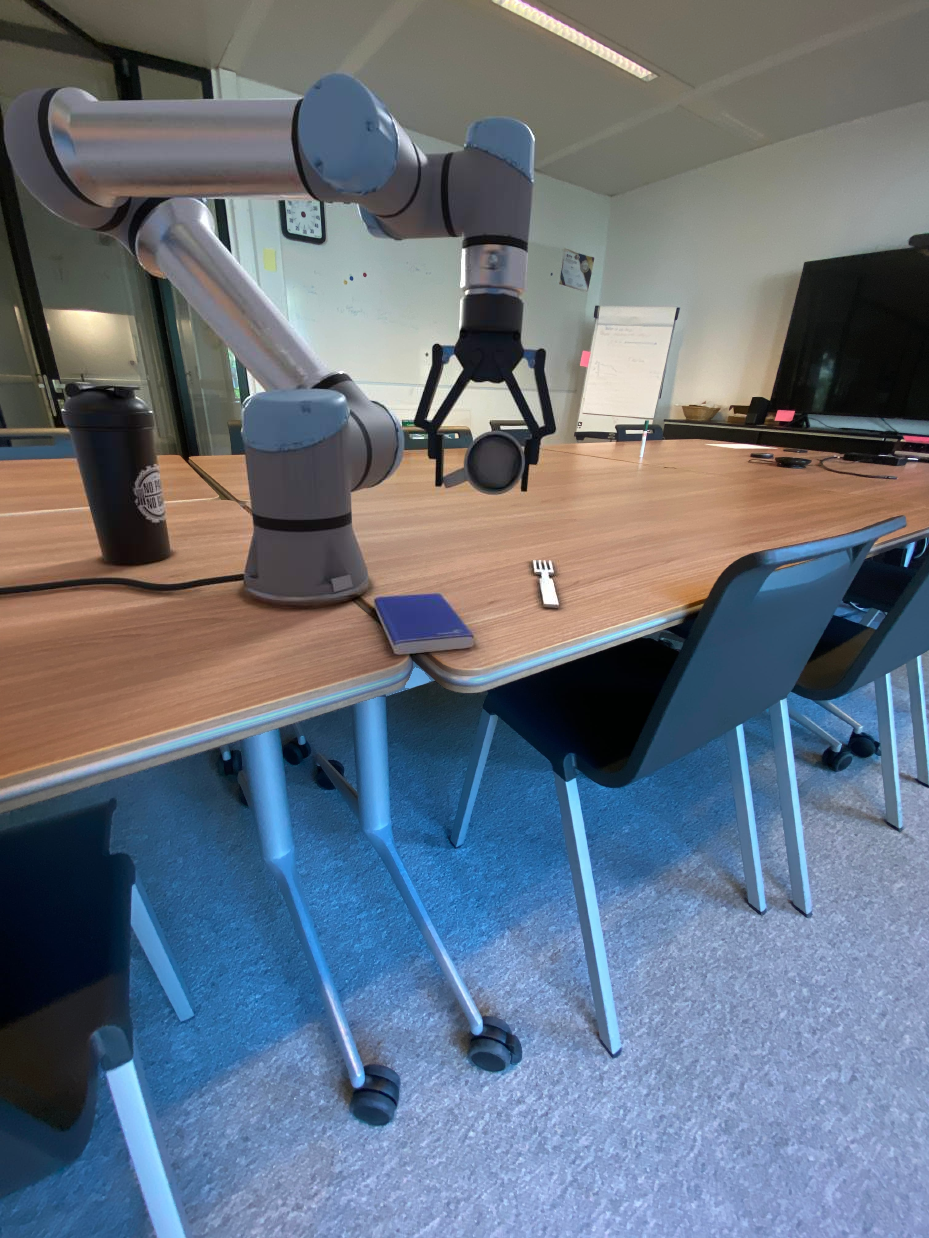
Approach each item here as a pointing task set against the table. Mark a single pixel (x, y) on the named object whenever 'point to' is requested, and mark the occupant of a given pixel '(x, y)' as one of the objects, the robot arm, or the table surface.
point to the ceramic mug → (490, 464)
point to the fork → (546, 584)
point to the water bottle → (118, 471)
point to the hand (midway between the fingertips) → (481, 487)
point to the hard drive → (421, 624)
